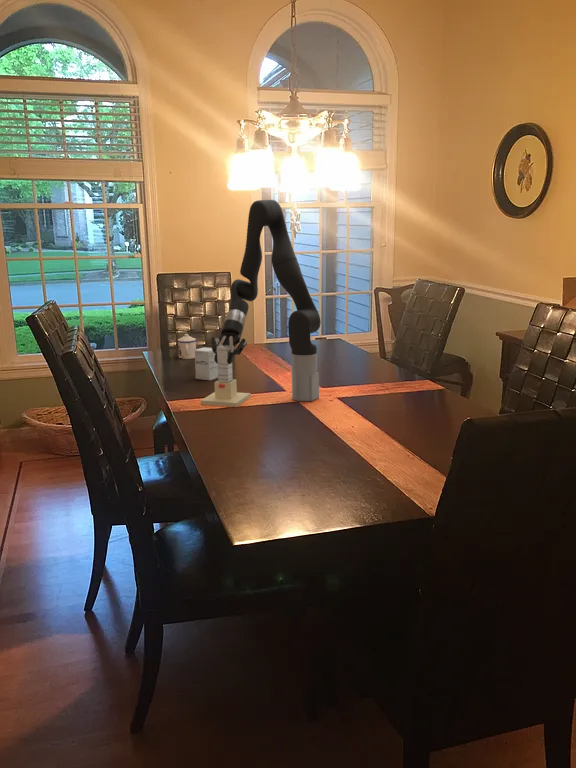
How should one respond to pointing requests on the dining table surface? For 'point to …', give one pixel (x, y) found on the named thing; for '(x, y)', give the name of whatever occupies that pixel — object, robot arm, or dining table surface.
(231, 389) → the stand base
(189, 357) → the teacup with lid
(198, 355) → the supplement box
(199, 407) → the dining table surface
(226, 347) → the column
